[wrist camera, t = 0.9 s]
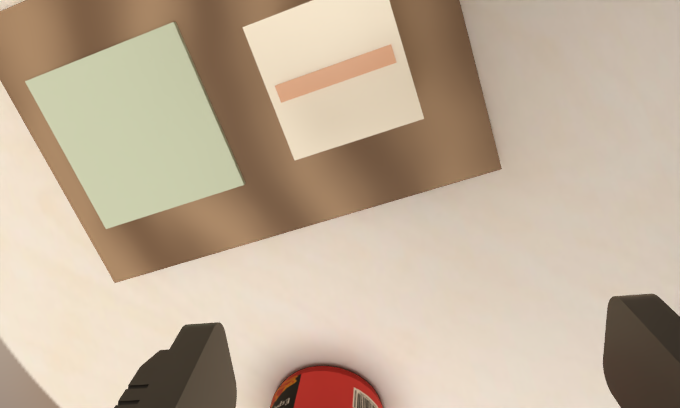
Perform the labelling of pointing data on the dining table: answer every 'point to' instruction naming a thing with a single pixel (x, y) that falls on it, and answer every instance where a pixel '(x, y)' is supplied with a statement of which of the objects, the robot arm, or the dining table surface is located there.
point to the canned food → (325, 390)
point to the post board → (256, 123)
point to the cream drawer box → (334, 72)
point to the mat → (138, 127)
